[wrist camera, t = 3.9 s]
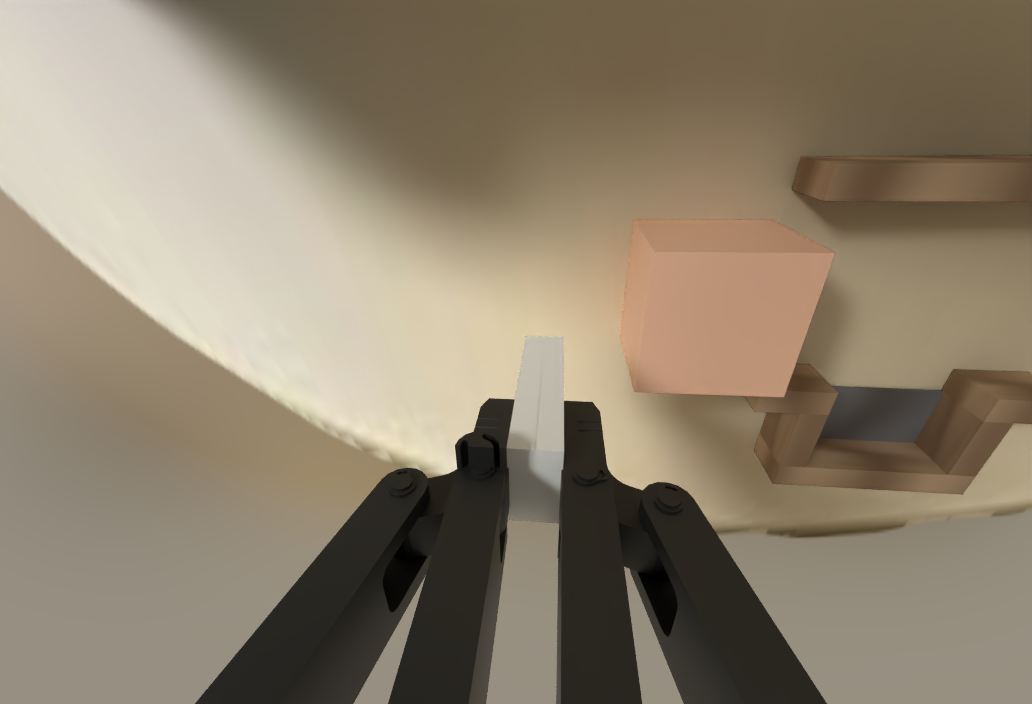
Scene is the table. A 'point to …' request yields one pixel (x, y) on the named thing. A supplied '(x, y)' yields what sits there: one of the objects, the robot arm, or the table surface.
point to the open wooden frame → (885, 411)
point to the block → (718, 305)
